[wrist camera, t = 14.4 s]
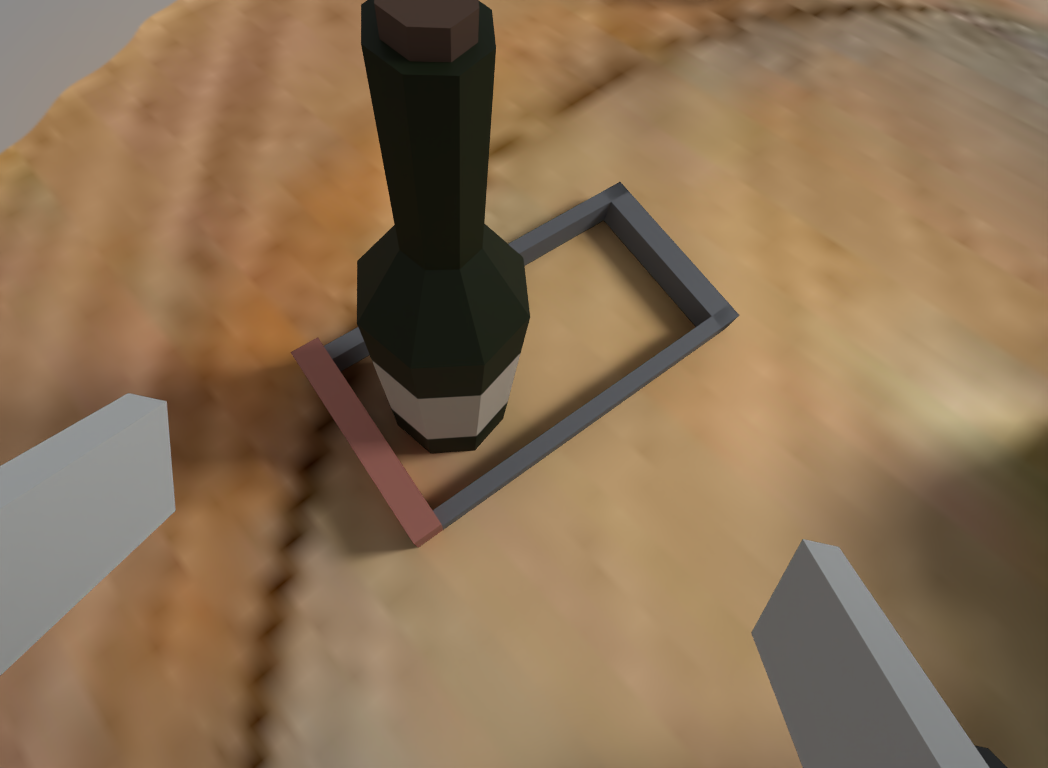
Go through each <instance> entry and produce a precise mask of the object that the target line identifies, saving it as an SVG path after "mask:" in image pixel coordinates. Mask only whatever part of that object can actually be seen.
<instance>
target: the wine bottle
mask: <svg viewBox="0 0 1048 768" xmlns="http://www.w3.org/2000/svg"><path fill="white" fill-rule="evenodd" d="M361 46H362V51H363V56H364V62H365V67H366V72H367V78H368V83H369V89H370V94H371V99H372V105H373V110H374V116H375V121H376V126H377V132H378V137H379V143H380V148H381V153H382V159H383V164H384V170H385V175H386V180H387V186H388V191H389V196H390V202H391V207H392V213H393V218H394V223H395V225H394V226H393V227H392V228H391V229H390V230H389V231H388V232H387V233H386V234H385V235H384V236H383V237H382V238H381V239H380V240H379V241H377V242H376V243H375V244H374V245H373V246H372V247H371V248H370V249H369V250H368V251H367V252H366V253H365V254H364V255H363V256H362V257H361V258H360V259H359V260H358V261H357V325H358V327H359V330H360V332H361V335H362V337H363V340H364V342H365V345H366V347H367V350H368V352H369V354H370V357H371V359H372V362H373V364H374V367H375V369H376V372H377V374H378V377H379V379H380V382H381V384H382V387H383V389H384V391H385V394H386V396H387V399H388V401H389V404H390V406H391V409H392V411H393V414H394V416H395V419H396V421H397V424H398V426H400V427H401V428H402V429H403V430H404V431H405V432H407V433H408V434H409V435H410V436H411V437H412V438H414V439H415V440H416V441H417V442H418V443H419V444H420V445H422V446H423V447H424V448H425V449H426V450H427V451H429V452H430V453H443V452H457V451H471V450H476V448H477V447H478V446H479V445H480V444H481V443H482V442H483V441H484V439H485V438H486V437H487V436H488V435H489V434H490V433H491V432H492V430H493V429H494V428H495V427H496V426H497V425H498V424H499V423H500V421H501V420H502V419H503V417H504V413H505V409H506V406H507V402H508V398H509V394H510V391H511V387H512V383H513V379H514V376H515V372H516V368H517V364H518V361H519V357H520V353H521V349H522V346H523V342H524V338H525V334H526V331H527V327H528V323H529V319H530V312H529V303H528V294H527V285H526V277H525V268H524V259H523V257H522V256H521V255H520V254H519V253H518V252H517V251H515V250H514V249H513V248H512V247H511V246H510V245H509V244H507V243H506V242H505V241H504V240H503V239H502V238H500V237H499V236H498V235H497V234H496V233H495V232H494V231H492V230H491V229H490V228H489V227H488V226H487V225H485V224H484V219H485V204H486V189H487V174H488V159H489V144H490V129H491V114H492V99H493V84H494V70H495V55H496V44H495V35H494V26H493V17H492V10H491V9H490V8H488V7H487V6H486V5H484V4H483V3H481V2H480V1H479V0H367V1H366V2H364V3H363V4H361Z"/></svg>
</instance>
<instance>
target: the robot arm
mask: <svg viewBox="0 0 1048 768" xmlns="http://www.w3.org/2000/svg"><path fill="white" fill-rule="evenodd" d="M174 512H175V499H174V487H173V474H172V462H171V449H170V437H169V425H168V412H167V401H163V400H158V399H153V398H149V397H144V396H139V395H135V394H130V393H128V394H126V395H124V396H122V397H121V398H119V399H117V400H115V401H114V402H112V403H110V404H108V405H107V406H105V407H103V408H101V409H100V410H98V411H96V412H94V413H93V414H91V415H89V416H87V417H86V418H84V419H82V420H80V421H79V422H77V423H75V424H73V425H72V426H70V427H68V428H66V429H65V430H63V431H61V432H59V433H58V434H56V435H54V436H52V437H50V438H49V439H47V440H45V441H43V442H42V443H40V444H38V445H36V446H35V447H33V448H31V449H29V450H28V451H26V452H24V453H22V454H21V455H19V456H17V457H15V458H14V459H12V460H10V461H8V462H7V463H5V464H3V465H1V466H0V675H2V674H3V673H4V672H5V671H6V670H7V669H8V668H9V667H10V666H11V665H12V664H13V663H14V662H15V661H16V660H17V659H19V658H20V657H21V656H22V655H23V654H24V653H25V652H26V651H27V650H28V649H29V648H30V647H31V646H32V645H33V644H34V643H36V642H37V641H38V640H39V639H40V638H41V637H42V636H43V635H44V634H45V633H46V632H47V631H48V630H49V629H50V628H51V627H53V626H54V625H55V624H56V623H57V622H58V621H59V620H60V619H61V618H62V617H63V616H64V615H65V614H66V613H67V612H68V611H70V610H71V609H72V608H73V607H74V606H75V605H76V604H77V603H78V602H79V601H80V600H81V599H82V598H83V597H84V596H85V595H87V594H88V593H89V592H90V591H91V590H92V589H93V588H94V587H95V586H96V585H97V584H98V583H99V582H100V581H101V580H102V579H104V578H105V577H106V576H107V575H108V574H109V573H110V572H111V571H112V570H113V569H114V568H115V567H116V566H117V565H118V564H119V563H121V562H122V561H123V560H124V559H125V558H126V557H127V556H128V555H129V554H130V553H131V552H132V551H133V550H134V549H135V548H136V547H137V546H139V545H140V544H141V543H142V542H143V541H144V540H145V539H146V538H147V537H148V536H149V535H150V534H151V533H152V532H153V531H154V530H156V529H157V528H158V527H159V526H160V525H161V524H162V523H163V522H164V521H165V520H166V519H167V518H168V517H169V516H170V515H171V514H173V513H174ZM751 633H752V636H753V638H754V641H755V644H756V646H757V649H758V651H759V654H760V657H761V659H762V662H763V665H764V667H765V670H766V672H767V675H768V678H769V680H770V683H771V685H772V688H773V691H774V693H775V696H776V698H777V701H778V704H779V706H780V709H781V711H782V714H783V717H784V719H785V722H786V725H787V727H788V730H789V732H790V735H791V738H792V740H793V743H794V745H795V748H796V751H797V753H798V756H799V758H800V761H801V764H802V766H803V768H1007V767H1006V766H1005V765H1004V764H1003V763H1002V762H1001V761H1000V760H999V759H998V758H997V757H996V756H995V755H994V754H993V753H992V752H991V751H990V750H989V749H988V748H984V747H979V746H974V744H973V743H972V741H971V740H970V739H969V737H968V736H967V734H966V733H965V731H964V730H963V728H962V727H961V725H960V724H959V722H958V721H957V719H956V718H955V717H954V715H953V714H952V712H951V711H950V709H949V708H948V706H947V705H946V703H945V702H944V700H943V699H942V697H941V696H940V695H939V693H938V692H937V690H936V689H935V687H934V686H933V684H932V683H931V681H930V680H929V678H928V677H927V676H926V674H925V673H924V671H923V670H922V668H921V667H920V665H919V664H918V662H917V661H916V659H915V658H914V656H913V655H912V654H911V652H910V651H909V649H908V648H907V646H906V645H905V643H904V642H903V640H902V639H901V637H900V636H899V634H898V633H897V632H896V630H895V629H894V627H893V626H892V624H891V623H890V621H889V620H888V618H887V617H886V615H885V614H884V613H883V611H882V610H881V608H880V607H879V605H878V604H877V602H876V601H875V599H874V598H873V596H872V595H871V593H870V592H869V591H868V589H867V588H866V586H865V585H864V583H863V582H862V580H861V579H860V577H859V576H858V574H857V573H856V571H855V570H854V569H853V567H852V566H851V564H850V563H849V561H848V560H847V558H846V557H845V555H844V554H843V552H842V551H841V549H840V548H839V547H837V546H832V545H828V544H823V543H818V542H814V541H809V540H805V539H802V541H801V543H800V545H799V547H798V549H797V550H796V552H795V554H794V556H793V558H792V560H791V561H790V563H789V565H788V567H787V569H786V570H785V572H784V574H783V576H782V578H781V580H780V581H779V583H778V585H777V587H776V589H775V591H774V592H773V594H772V596H771V598H770V600H769V601H768V603H767V605H766V607H765V609H764V611H763V612H762V614H761V616H760V618H759V620H758V622H757V623H756V625H755V627H754V629H753V631H752V632H751Z"/></svg>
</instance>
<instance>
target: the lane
mask: <svg viewBox="0 0 1048 768" xmlns="http://www.w3.org/2000/svg"><path fill="white" fill-rule="evenodd" d="M603 220H604V221H605V222H606V223H607V224H608V226H609V227H610V228H611V229H612V230H613V231H614V233H615V234H616V235H617V236H618V237H619V238H620V240H621V241H622V242H623V243H624V244H625V245H626V246H627V248H628V249H629V250H630V251H631V252H632V253H633V255H634V256H635V257H636V258H637V259H638V260H639V261H640V263H641V264H642V265H643V266H644V267H645V268H646V270H647V271H648V272H649V273H650V274H651V275H652V276H653V278H654V279H655V280H656V281H657V282H658V283H659V285H660V286H661V287H662V288H663V289H664V290H665V292H666V293H667V294H668V295H669V296H670V297H671V298H672V300H673V301H674V302H675V303H676V304H677V305H678V307H679V308H680V309H681V310H682V311H683V312H684V313H685V315H686V316H687V317H688V318H689V319H690V320H691V322H692V323H693V324H694V325H695V326H696V328H694V329H693V330H691V331H690V332H688V333H687V334H686V335H684V336H683V337H681V338H680V339H678V340H677V341H676V342H674V343H673V344H671V345H670V346H668V347H667V348H665V349H664V350H663V351H661V352H660V353H658V354H657V355H655V356H654V357H653V358H651V359H650V360H648V361H647V362H645V363H644V364H642V365H641V366H640V367H638V368H637V369H635V370H634V371H632V372H631V373H630V374H628V375H627V376H625V377H624V378H622V379H621V380H619V381H618V382H617V383H615V384H614V385H612V386H611V387H609V388H608V389H607V390H605V391H604V392H602V393H601V394H599V395H598V396H596V397H595V398H594V399H592V400H591V401H589V402H588V403H586V404H585V405H584V406H582V407H581V408H579V409H578V410H576V411H575V412H573V413H572V414H571V415H569V416H568V417H566V418H565V419H563V420H562V421H561V422H559V423H558V424H556V425H555V426H553V427H552V428H550V429H549V430H548V431H546V432H545V433H543V434H542V435H540V436H539V437H538V438H536V439H535V440H533V441H532V442H530V443H529V444H528V445H526V446H525V447H523V448H522V449H520V450H519V451H517V452H516V453H515V454H513V455H512V456H510V457H509V458H507V459H506V460H505V461H503V462H502V463H500V464H499V465H497V466H496V467H494V468H493V469H492V470H490V471H489V472H487V473H486V474H484V475H483V476H482V477H480V478H479V479H477V480H476V481H474V482H473V483H471V484H470V485H469V486H467V487H466V488H464V489H463V490H461V491H460V492H459V493H457V494H456V495H454V496H453V497H451V498H450V499H448V500H447V501H446V502H444V503H443V504H441V505H440V506H438V507H437V508H436V509H434V510H433V511H432V509H431V508H430V506H429V505H428V503H427V502H426V500H425V499H424V497H423V496H422V494H421V492H420V491H419V489H418V488H417V486H416V485H415V483H414V482H413V480H412V479H411V477H410V476H409V474H408V473H407V471H406V470H405V468H404V467H403V465H402V464H401V462H400V461H399V459H398V458H397V456H396V455H395V453H394V452H393V450H392V449H391V447H390V446H389V444H388V443H387V441H386V440H385V438H384V437H383V435H382V434H381V432H380V431H379V429H378V428H377V426H376V424H375V423H374V421H373V420H372V418H371V417H370V415H369V414H368V412H367V411H366V409H365V408H364V406H363V405H362V403H361V402H360V400H359V399H358V397H357V396H356V394H355V393H354V391H353V390H352V388H351V387H350V385H349V384H348V382H347V381H346V379H345V378H344V376H343V375H342V373H341V371H342V370H344V369H346V368H348V367H349V366H351V365H353V364H355V363H356V362H358V361H360V360H362V359H363V358H365V357H367V356H369V355H370V354H369V352H368V350H367V347H366V345H365V342H364V340H363V337H362V335H361V332H360V330H359V327H357V328H355V329H354V330H352V331H350V332H348V333H346V334H345V335H343V336H341V337H339V338H337V339H336V340H334V341H332V342H330V343H328V344H327V345H325V346H323V344H322V343H321V341H320V340H319V338H316V339H314V340H312V341H310V342H309V343H307V344H305V345H303V346H301V347H300V348H298V349H296V350H294V351H292V352H291V354H292V355H293V357H294V358H295V360H296V361H297V363H298V365H299V366H300V368H301V369H302V371H303V372H304V374H305V375H306V377H307V379H308V380H309V382H310V383H311V385H312V386H313V388H314V389H315V391H316V393H317V394H318V396H319V397H320V399H321V400H322V402H323V403H324V405H325V407H326V408H327V410H328V411H329V413H330V414H331V416H332V417H333V419H334V421H335V422H336V424H337V425H338V427H339V428H340V430H341V431H342V433H343V435H344V436H345V438H346V439H347V441H348V442H349V444H350V445H351V447H352V449H353V450H354V452H355V453H356V455H357V456H358V458H359V459H360V461H361V463H362V464H363V466H364V467H365V469H366V470H367V472H368V473H369V475H370V477H371V478H372V480H373V481H374V483H375V484H376V486H377V487H378V489H379V491H380V492H381V494H382V495H383V497H384V498H385V500H386V501H387V503H388V505H389V506H390V508H391V509H392V511H393V512H394V514H395V515H396V517H397V519H398V520H399V522H400V523H401V525H402V526H403V528H404V529H405V531H406V533H407V534H408V536H409V537H410V539H411V540H412V542H413V543H414V544H415V545H416V546H417V547H420V546H421V545H423V544H424V543H425V542H427V541H428V540H430V539H431V538H432V537H434V536H435V535H437V534H438V533H439V532H441V531H442V530H444V529H445V528H446V527H448V526H449V525H451V524H452V523H453V522H455V521H456V520H458V519H459V518H460V517H462V516H463V515H465V514H466V513H467V512H469V511H470V510H472V509H473V508H474V507H476V506H477V505H479V504H480V503H482V502H483V501H484V500H486V499H487V498H489V497H490V496H491V495H493V494H494V493H496V492H497V491H498V490H500V489H501V488H503V487H504V486H505V485H507V484H508V483H510V482H511V481H512V480H514V479H515V478H517V477H518V476H519V475H521V474H522V473H524V472H525V471H526V470H528V469H529V468H531V467H532V466H533V465H535V464H536V463H538V462H539V461H540V460H542V459H543V458H545V457H546V456H547V455H549V454H550V453H552V452H553V451H554V450H556V449H557V448H559V447H560V446H561V445H563V444H564V443H566V442H567V441H568V440H570V439H571V438H573V437H574V436H576V435H577V434H578V433H580V432H581V431H583V430H584V429H585V428H587V427H588V426H590V425H591V424H592V423H594V422H595V421H597V420H598V419H599V418H601V417H602V416H604V415H605V414H606V413H608V412H609V411H611V410H612V409H613V408H615V407H616V406H618V405H619V404H620V403H622V402H623V401H625V400H626V399H627V398H629V397H630V396H632V395H633V394H634V393H636V392H637V391H639V390H640V389H641V388H643V387H644V386H646V385H647V384H648V383H650V382H651V381H653V380H654V379H655V378H657V377H658V376H660V375H661V374H662V373H664V372H665V371H667V370H668V369H669V368H671V367H672V366H674V365H675V364H677V363H678V362H679V361H681V360H682V359H684V358H685V357H686V356H688V355H689V354H691V353H692V352H693V351H695V350H696V349H698V348H699V347H700V346H702V345H703V344H705V343H706V342H707V341H709V340H710V339H712V338H713V337H714V336H716V335H717V334H719V333H720V332H721V331H723V330H724V329H725V328H727V327H728V326H729V325H730V324H731V323H732V322H733V321H734V320H735V319H736V318H737V317H738V316H739V314H738V313H737V312H736V311H735V310H734V309H733V307H732V306H731V305H730V304H729V303H728V302H727V301H726V300H725V298H724V297H723V296H722V295H721V294H720V293H719V292H718V291H717V290H716V288H715V287H714V286H713V285H712V284H711V283H710V282H709V281H708V279H707V278H706V277H705V276H704V275H703V274H702V273H701V272H700V271H699V269H698V268H697V267H696V266H695V265H694V264H693V263H692V262H691V260H690V259H689V258H688V257H687V256H686V255H685V254H684V253H683V252H682V250H681V249H680V248H679V247H678V246H677V245H676V244H675V243H674V241H673V240H672V239H671V238H670V237H669V236H668V235H667V234H666V233H665V231H664V230H663V229H662V228H661V227H660V226H659V225H658V224H657V222H656V221H655V220H654V219H653V218H652V217H651V216H650V215H649V213H648V212H647V211H646V210H645V209H644V208H643V207H642V206H641V205H640V203H639V202H638V201H637V200H636V199H635V198H634V197H633V196H632V194H631V193H630V192H629V191H628V190H627V189H626V188H625V187H624V186H623V184H622V183H621V182H619V183H617V184H615V185H613V186H612V187H610V188H608V189H606V190H604V191H603V192H601V193H599V194H597V195H595V196H594V197H592V198H590V199H588V200H586V201H585V202H583V203H581V204H579V205H577V206H576V207H574V208H572V209H570V210H568V211H566V212H565V213H563V214H561V215H559V216H557V217H556V218H554V219H552V220H550V221H548V222H547V223H545V224H543V225H541V226H539V227H538V228H536V229H534V230H532V231H530V232H529V233H527V234H525V235H523V236H521V237H520V238H518V239H516V240H514V241H512V242H511V243H509V245H510V246H511V247H512V248H513V249H514V250H515V251H517V252H518V253H519V254H520V255H521V256H522V257H523V259H524V266H525V265H527V264H528V263H530V262H532V261H534V260H535V259H537V258H539V257H541V256H542V255H544V254H546V253H548V252H549V251H551V250H553V249H555V248H556V247H558V246H560V245H562V244H563V243H565V242H567V241H568V240H570V239H572V238H574V237H575V236H577V235H579V234H581V233H582V232H584V231H586V230H588V229H589V228H591V227H593V226H595V225H596V224H598V223H600V222H602V221H603Z"/></svg>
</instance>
